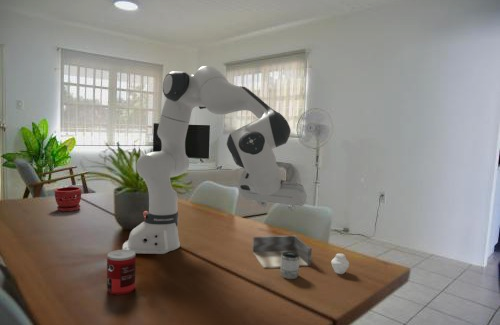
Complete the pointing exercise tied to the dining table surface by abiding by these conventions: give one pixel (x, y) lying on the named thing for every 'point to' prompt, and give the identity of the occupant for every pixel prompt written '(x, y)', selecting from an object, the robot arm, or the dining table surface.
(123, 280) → the canned food
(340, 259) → the white rounded ceramic piece
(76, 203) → the plant pot
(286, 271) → the camera lens
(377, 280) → the dining table surface
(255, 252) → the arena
